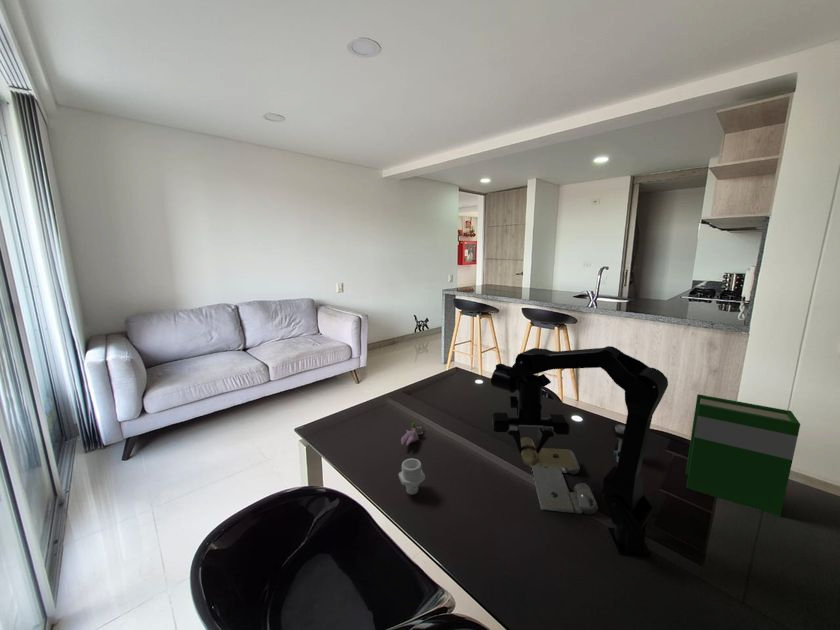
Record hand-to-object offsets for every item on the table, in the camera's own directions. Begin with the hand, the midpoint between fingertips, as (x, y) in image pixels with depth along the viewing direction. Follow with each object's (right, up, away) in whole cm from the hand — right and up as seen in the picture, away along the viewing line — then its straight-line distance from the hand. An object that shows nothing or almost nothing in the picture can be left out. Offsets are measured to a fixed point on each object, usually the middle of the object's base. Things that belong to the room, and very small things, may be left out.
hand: (528, 452), depth 91 cm
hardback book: (+52, -10, -2) cm, 53 cm away
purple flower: (-31, -6, +26) cm, 41 cm away
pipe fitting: (-31, -11, +2) cm, 33 cm away
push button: (+32, -7, +13) cm, 35 cm away
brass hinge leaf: (+4, -2, 0) cm, 5 cm away
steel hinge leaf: (+9, -10, +3) cm, 14 cm away
